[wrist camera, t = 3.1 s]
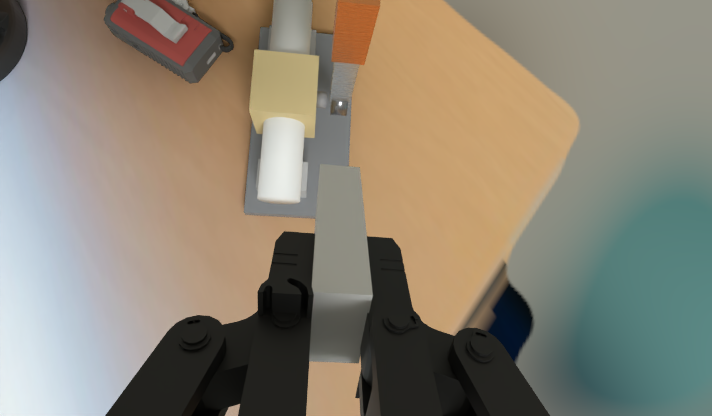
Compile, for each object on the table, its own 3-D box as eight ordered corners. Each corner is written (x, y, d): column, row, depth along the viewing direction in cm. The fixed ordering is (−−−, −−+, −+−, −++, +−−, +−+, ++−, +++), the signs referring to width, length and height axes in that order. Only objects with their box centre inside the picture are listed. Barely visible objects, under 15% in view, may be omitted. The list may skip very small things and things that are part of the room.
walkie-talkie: (247, 38, 49) (106, -51, 49) (241, 15, 44) (86, -84, 44) (203, 94, 47) (56, 1, 47) (192, 75, 42) (30, -28, 42)
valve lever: (349, 120, 42) (379, 11, 25) (324, 118, 42) (338, 6, 25) (351, 95, 43) (380, -28, 26) (326, 93, 42) (340, -33, 25)
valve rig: (345, 220, 46) (355, 203, 36) (246, 214, 45) (229, 196, 35) (352, 43, 50) (364, -14, 40) (261, 34, 49) (250, -28, 39)
